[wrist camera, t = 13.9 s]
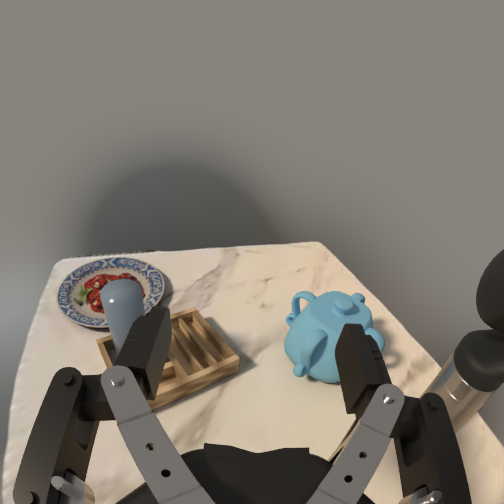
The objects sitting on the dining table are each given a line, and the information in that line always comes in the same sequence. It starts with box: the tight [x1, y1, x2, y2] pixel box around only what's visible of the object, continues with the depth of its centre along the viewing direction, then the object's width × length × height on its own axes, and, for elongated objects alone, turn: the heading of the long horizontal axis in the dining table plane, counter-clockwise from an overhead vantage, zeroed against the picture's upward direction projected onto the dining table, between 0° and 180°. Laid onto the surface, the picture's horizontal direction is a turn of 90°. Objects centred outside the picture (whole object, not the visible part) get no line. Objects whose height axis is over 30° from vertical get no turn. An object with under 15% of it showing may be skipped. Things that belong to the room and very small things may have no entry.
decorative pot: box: [284, 291, 385, 383], centre depth 49 cm, size 16×16×14 cm
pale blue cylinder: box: [100, 279, 146, 355], centre depth 41 cm, size 6×6×15 cm
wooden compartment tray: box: [96, 307, 240, 410], centre depth 46 cm, size 20×15×4 cm
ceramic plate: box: [57, 257, 165, 328], centre depth 60 cm, size 26×26×3 cm
